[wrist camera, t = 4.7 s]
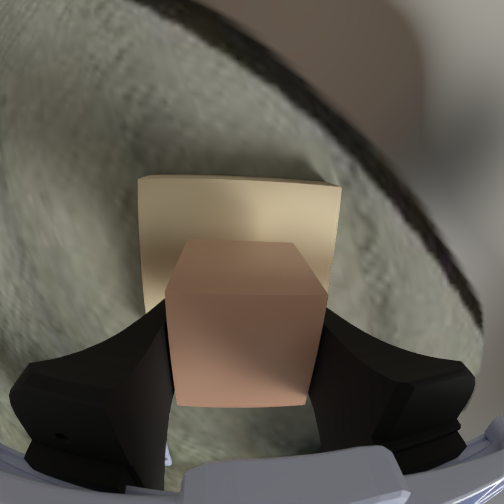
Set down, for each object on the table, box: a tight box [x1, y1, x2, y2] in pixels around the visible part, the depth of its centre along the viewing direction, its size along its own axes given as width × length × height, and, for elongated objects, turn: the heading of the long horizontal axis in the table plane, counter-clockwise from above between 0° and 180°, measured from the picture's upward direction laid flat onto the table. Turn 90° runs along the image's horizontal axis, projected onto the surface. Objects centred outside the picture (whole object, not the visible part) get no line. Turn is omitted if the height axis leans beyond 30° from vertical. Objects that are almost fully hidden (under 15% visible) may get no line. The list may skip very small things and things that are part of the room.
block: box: [165, 239, 328, 408], centre depth 11 cm, size 4×4×5 cm
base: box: [138, 175, 342, 313], centre depth 17 cm, size 10×10×2 cm
